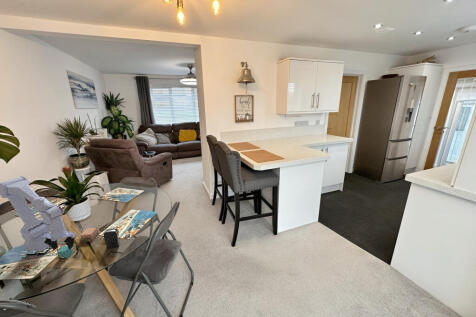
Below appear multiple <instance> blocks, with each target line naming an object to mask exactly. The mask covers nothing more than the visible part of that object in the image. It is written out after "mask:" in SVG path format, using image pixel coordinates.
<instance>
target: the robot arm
mask: <svg viewBox="0 0 476 317" xmlns="http://www.w3.org/2000/svg"><path fill="white" fill-rule="evenodd" d="M29 184H30V180H29V178H27V177H26V176H24V175H21V176H17V177H15V178H12V179H8V180H4V181H0V197H1V198H2V199H8V201H9V203H10V204H11V205H12V207H13V208H14V210H15V212H16V213H17V215H18V216H19V218H20V219H21V220H22V222H23V224H24V225H23V226H22V227H21V228H20V230H19V232H20V234H21V238H22V239H23V240H24V242H23V245H24V248H25V251H26V252H31V251H35V252H37V251H40V250H43V249H45V248H47V247H49V246H50V247H51V249H52V250H53V251H56V250H57V249H58V248H59V244H58V240H61V239H64V240H63V243H65V244H66V246H68V248H69V249H72V248H73V247H74V243H75V241H74V240H75V238H76V236H77V234H76V232H72V231H67V230H66V227H65V224H64V220H63V217H62V215H63V214H64V210H63V208H62V207H61V206H60V205H59V204H55V203H52V202H51V201H50V200H48V199H47V198H46V197H44V196H39V194H37V192H36V191H34V189H33V188H31V184H30V185H29ZM26 200H27V201H29V202H31V203H30V205H29V204H28V202H27V201H26ZM30 206H31V207H30ZM32 208H33V209H35V210H36V212H38V213H39V214H40V217H41V218H42V219H41V218H40V219H39V218H38V217H37V216H36V214H34V211H33V209H32Z"/></svg>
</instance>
